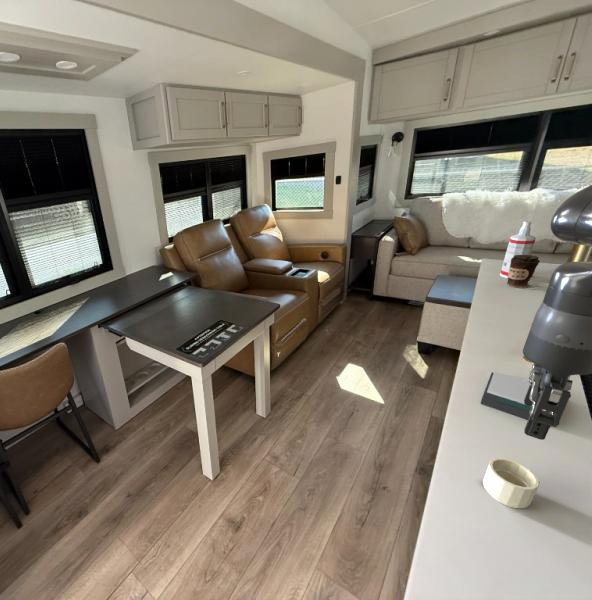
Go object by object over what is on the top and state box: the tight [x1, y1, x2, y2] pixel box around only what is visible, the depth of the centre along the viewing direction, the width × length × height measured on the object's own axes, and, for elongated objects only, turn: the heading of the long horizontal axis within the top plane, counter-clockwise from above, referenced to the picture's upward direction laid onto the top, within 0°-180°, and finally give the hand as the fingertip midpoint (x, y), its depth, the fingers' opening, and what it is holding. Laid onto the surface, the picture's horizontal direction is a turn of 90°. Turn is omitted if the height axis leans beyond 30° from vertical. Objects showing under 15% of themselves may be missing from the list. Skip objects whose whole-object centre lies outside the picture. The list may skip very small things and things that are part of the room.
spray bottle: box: [499, 220, 537, 279], centre depth 140 cm, size 8×8×25 cm
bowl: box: [482, 457, 540, 509], centre depth 57 cm, size 6×6×6 cm
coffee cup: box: [506, 254, 541, 289], centre depth 133 cm, size 9×8×13 cm
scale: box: [480, 371, 550, 421], centre depth 78 cm, size 13×11×3 cm
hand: (532, 419), depth 52 cm, fingers open, 8 cm apart
